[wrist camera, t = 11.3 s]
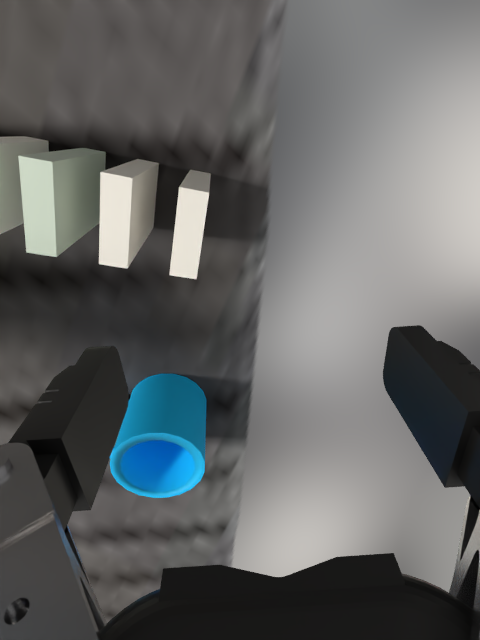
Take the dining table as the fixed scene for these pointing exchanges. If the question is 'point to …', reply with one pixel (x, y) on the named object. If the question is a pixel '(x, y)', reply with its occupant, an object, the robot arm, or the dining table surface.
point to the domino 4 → (190, 224)
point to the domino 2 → (60, 197)
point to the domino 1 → (14, 177)
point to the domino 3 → (126, 210)
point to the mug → (161, 437)
